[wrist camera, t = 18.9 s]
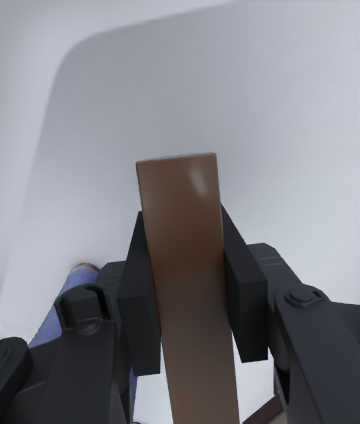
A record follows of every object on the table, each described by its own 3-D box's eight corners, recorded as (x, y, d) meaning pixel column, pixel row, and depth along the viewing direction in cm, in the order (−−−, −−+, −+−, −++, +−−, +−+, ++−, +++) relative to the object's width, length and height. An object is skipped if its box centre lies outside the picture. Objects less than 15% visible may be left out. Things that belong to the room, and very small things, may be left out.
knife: (146, 159, 12) (135, 161, 8) (200, 152, 13) (216, 152, 8) (193, 501, 17) (202, 622, 12) (234, 495, 17) (256, 615, 12)
